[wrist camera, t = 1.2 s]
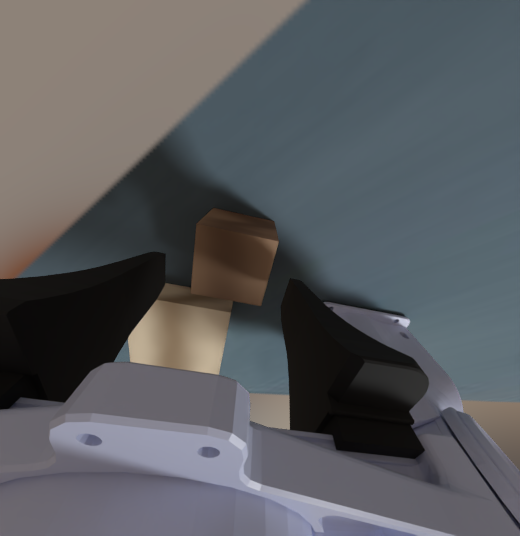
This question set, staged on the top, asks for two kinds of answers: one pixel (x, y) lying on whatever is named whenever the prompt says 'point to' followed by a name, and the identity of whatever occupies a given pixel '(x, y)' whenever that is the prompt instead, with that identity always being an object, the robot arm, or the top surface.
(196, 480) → the robot arm
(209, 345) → the maple block
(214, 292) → the walnut cube
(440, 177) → the top surface
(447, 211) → the top surface
